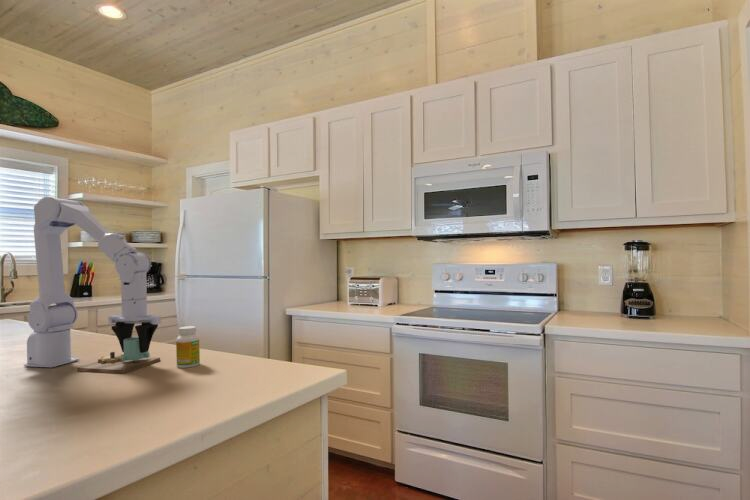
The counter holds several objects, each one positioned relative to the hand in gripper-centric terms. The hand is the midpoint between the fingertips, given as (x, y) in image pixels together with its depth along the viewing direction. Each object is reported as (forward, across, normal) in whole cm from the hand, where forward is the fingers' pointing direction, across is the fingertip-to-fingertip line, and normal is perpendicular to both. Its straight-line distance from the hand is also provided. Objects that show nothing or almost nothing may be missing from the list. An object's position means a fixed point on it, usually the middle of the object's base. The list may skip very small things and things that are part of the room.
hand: (135, 351), depth 110 cm
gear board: (+3, -3, -2) cm, 5 cm away
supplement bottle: (+4, +15, +2) cm, 15 cm away
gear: (+2, 0, 0) cm, 2 cm away
